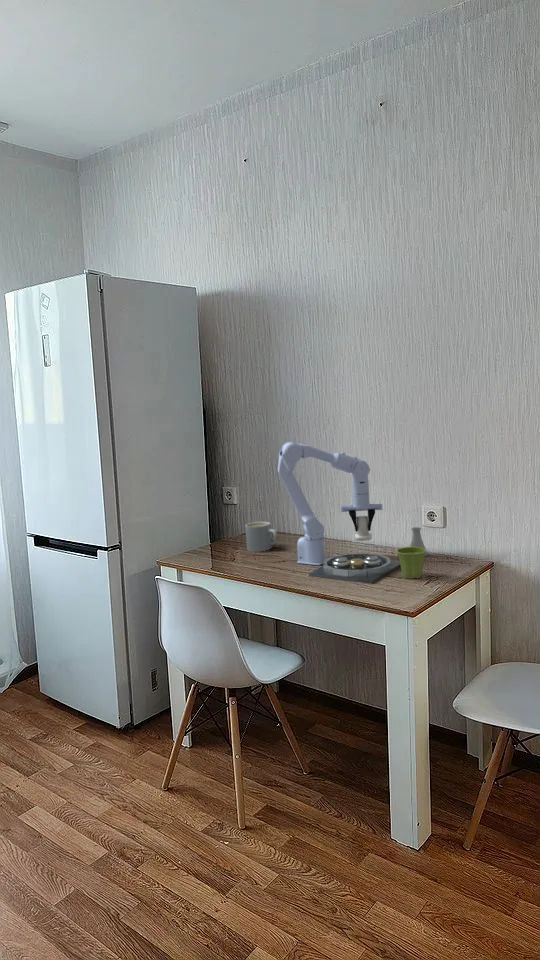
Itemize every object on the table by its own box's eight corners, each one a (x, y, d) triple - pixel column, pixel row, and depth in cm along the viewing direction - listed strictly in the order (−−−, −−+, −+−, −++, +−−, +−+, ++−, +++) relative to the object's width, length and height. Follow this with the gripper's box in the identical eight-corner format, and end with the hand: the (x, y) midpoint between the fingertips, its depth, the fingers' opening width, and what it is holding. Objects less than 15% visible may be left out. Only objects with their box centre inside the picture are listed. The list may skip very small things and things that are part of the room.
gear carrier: (309, 575, 229) (308, 565, 229) (343, 558, 248) (343, 549, 248) (372, 583, 216) (372, 572, 215) (404, 564, 235) (403, 554, 234)
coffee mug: (241, 550, 272) (239, 525, 270) (259, 544, 279) (257, 520, 278) (266, 554, 263) (264, 528, 261) (283, 548, 270) (281, 523, 269)
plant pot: (406, 571, 227) (405, 545, 226) (432, 574, 221) (431, 548, 220) (392, 578, 220) (390, 552, 219) (418, 582, 214) (417, 555, 213)
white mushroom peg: (352, 540, 246) (350, 518, 245) (359, 536, 251) (358, 514, 250) (367, 541, 243) (365, 519, 242) (374, 537, 248) (373, 515, 247)
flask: (422, 558, 241) (421, 530, 239) (403, 556, 245) (402, 529, 244) (431, 553, 246) (430, 526, 245) (412, 552, 251) (411, 525, 249)
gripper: (380, 490, 248) (382, 527, 250) (340, 492, 249) (342, 529, 251) (382, 493, 241) (383, 531, 243) (340, 495, 243) (342, 533, 244)
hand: (362, 530), depth 247 cm, fingers closed on white mushroom peg, 4 cm apart
